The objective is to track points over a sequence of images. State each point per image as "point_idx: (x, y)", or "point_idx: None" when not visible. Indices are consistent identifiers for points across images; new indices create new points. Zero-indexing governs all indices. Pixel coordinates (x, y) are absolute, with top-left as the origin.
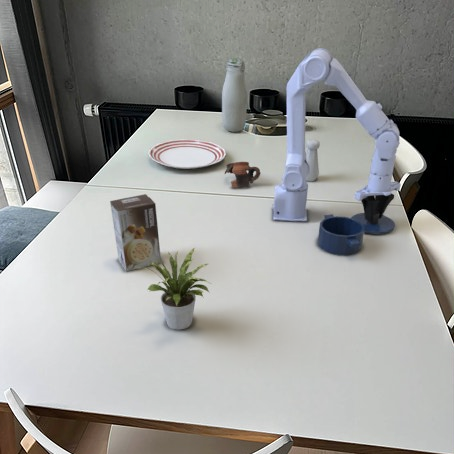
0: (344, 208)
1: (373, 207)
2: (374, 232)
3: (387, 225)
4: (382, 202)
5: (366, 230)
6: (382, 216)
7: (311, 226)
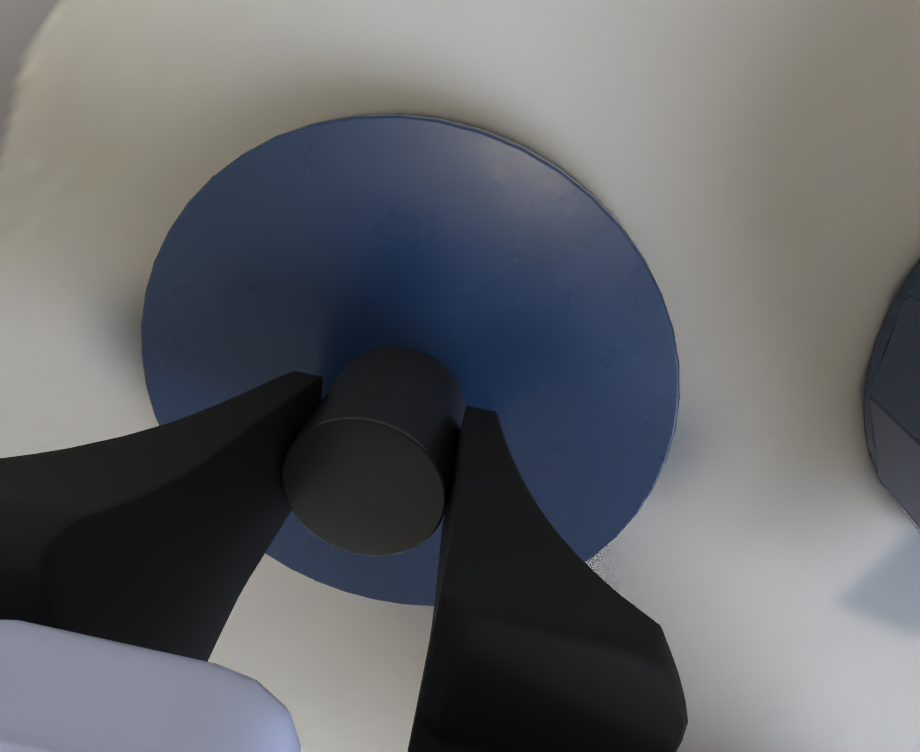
0: (345, 706)
1: (539, 546)
2: (619, 226)
3: (315, 228)
4: (191, 545)
5: (666, 325)
6: (189, 409)
7: (890, 725)
